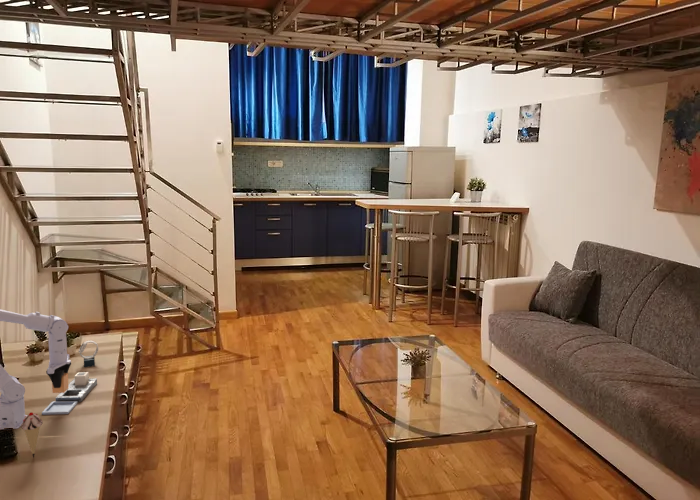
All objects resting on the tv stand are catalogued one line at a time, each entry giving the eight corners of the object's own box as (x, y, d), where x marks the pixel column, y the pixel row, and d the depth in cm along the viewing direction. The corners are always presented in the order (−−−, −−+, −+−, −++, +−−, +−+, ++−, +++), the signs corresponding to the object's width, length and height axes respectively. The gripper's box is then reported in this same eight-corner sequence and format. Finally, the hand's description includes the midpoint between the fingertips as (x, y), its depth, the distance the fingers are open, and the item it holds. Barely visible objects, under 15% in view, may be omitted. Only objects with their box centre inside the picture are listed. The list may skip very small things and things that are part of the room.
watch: (79, 363, 237) (78, 340, 236) (98, 361, 241) (98, 338, 239) (79, 367, 232) (78, 344, 231) (99, 365, 236) (98, 342, 234)
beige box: (85, 390, 210) (84, 375, 209) (75, 390, 210) (74, 375, 209) (89, 385, 214) (88, 371, 213) (78, 386, 214) (78, 371, 213)
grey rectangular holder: (81, 403, 199) (81, 396, 199) (55, 403, 198) (55, 397, 197) (97, 383, 217) (97, 378, 216) (74, 384, 215) (73, 378, 215)
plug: (64, 392, 191) (63, 376, 190) (52, 392, 190) (51, 376, 190) (68, 388, 195) (67, 372, 194) (57, 388, 194) (56, 372, 193)
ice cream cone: (40, 450, 166) (37, 406, 163) (47, 457, 162) (45, 412, 160) (20, 457, 161) (17, 412, 159) (27, 465, 158) (24, 418, 156)
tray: (68, 414, 190) (68, 411, 189) (41, 415, 188) (41, 412, 188) (77, 403, 198) (77, 400, 198) (52, 404, 197) (52, 401, 197)
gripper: (61, 356, 184) (63, 393, 186) (77, 342, 198) (78, 376, 200) (40, 356, 183) (42, 393, 185) (57, 343, 197) (59, 377, 199)
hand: (59, 384), depth 192 cm, fingers closed on plug, 4 cm apart
